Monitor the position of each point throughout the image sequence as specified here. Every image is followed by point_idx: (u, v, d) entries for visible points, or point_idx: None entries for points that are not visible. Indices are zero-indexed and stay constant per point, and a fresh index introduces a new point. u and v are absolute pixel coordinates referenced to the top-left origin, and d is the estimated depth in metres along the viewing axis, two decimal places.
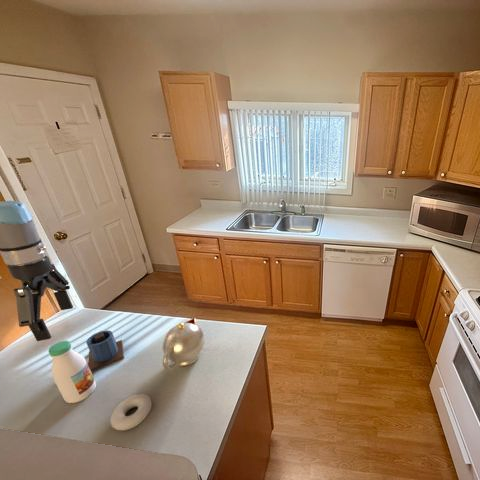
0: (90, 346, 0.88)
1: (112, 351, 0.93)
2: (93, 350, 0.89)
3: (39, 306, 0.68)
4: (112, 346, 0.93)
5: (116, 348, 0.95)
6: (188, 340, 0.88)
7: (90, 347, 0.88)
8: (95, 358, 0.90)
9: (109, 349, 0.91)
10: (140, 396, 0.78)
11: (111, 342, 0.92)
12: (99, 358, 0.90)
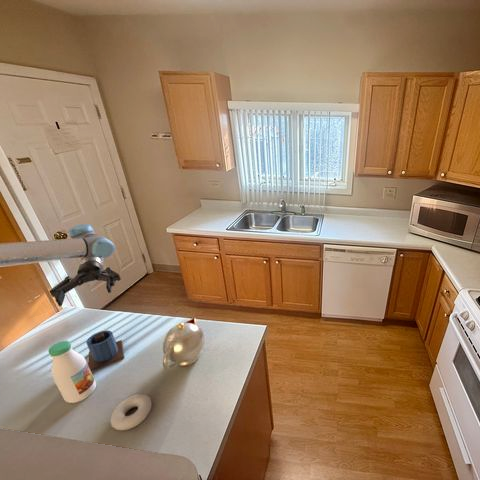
0: (90, 346, 0.88)
1: (112, 351, 0.93)
2: (93, 350, 0.89)
3: None
4: (112, 346, 0.93)
5: (116, 348, 0.95)
6: (188, 340, 0.88)
7: (90, 347, 0.88)
8: (95, 358, 0.90)
9: (109, 349, 0.91)
10: (140, 396, 0.78)
11: (111, 342, 0.92)
12: (99, 358, 0.90)
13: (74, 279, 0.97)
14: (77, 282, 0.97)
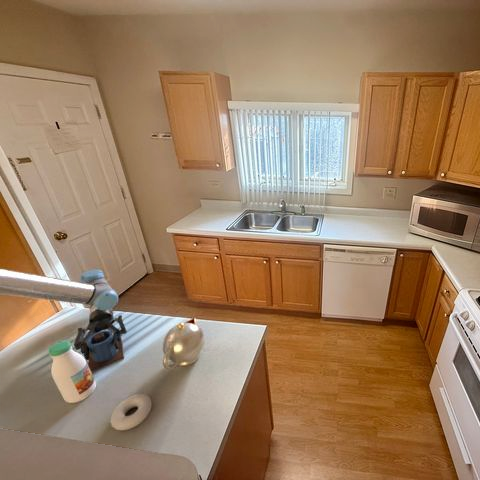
0: (90, 346, 0.88)
1: (112, 351, 0.93)
2: (93, 350, 0.89)
3: None
4: (112, 346, 0.93)
5: None
6: (188, 340, 0.88)
7: (90, 347, 0.88)
8: (95, 358, 0.90)
9: (109, 349, 0.91)
10: (140, 396, 0.78)
11: (111, 342, 0.92)
12: (99, 358, 0.90)
13: None
14: (94, 332, 0.96)
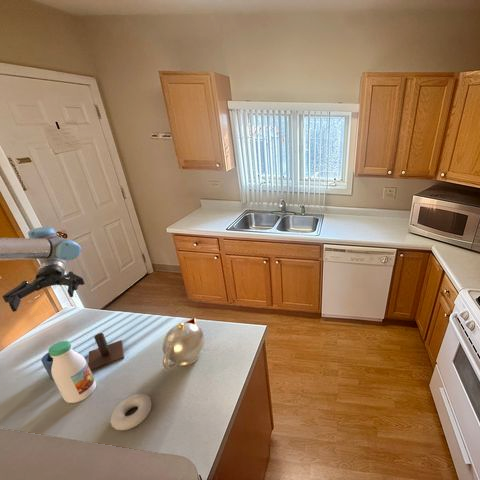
0: (45, 364, 0.82)
1: None
2: (49, 368, 0.83)
3: None
4: None
5: None
6: (188, 340, 0.88)
7: (45, 365, 0.82)
8: None
9: None
10: (140, 396, 0.78)
11: None
12: None
13: (32, 284, 0.91)
14: (35, 287, 0.92)
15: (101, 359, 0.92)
